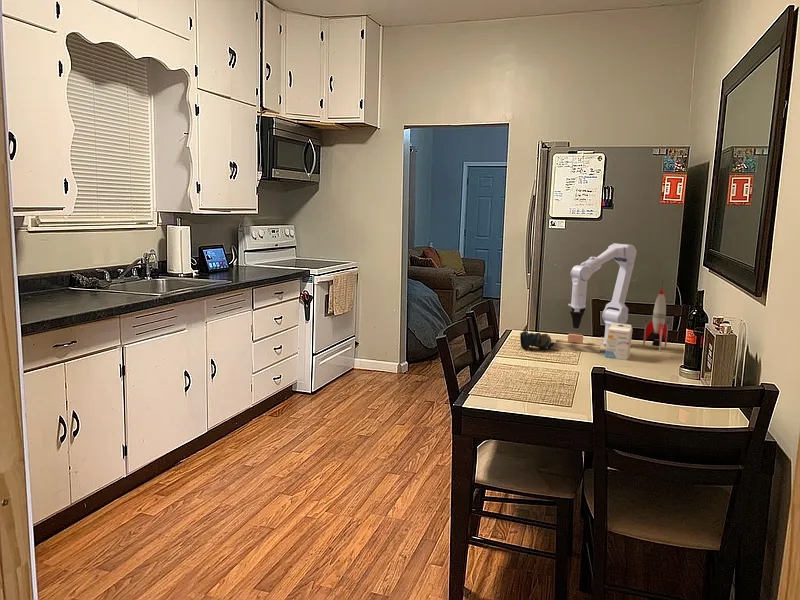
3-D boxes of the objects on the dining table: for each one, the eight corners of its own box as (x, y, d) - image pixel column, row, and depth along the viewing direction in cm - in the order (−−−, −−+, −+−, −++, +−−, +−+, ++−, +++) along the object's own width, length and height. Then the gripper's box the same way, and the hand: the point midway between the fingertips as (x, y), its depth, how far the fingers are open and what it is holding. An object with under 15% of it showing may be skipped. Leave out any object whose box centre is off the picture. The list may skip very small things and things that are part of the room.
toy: (665, 347, 266) (672, 279, 261) (671, 352, 258) (679, 281, 253) (642, 346, 267) (648, 278, 262) (648, 350, 258) (655, 280, 254)
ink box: (604, 357, 245) (607, 324, 243) (608, 352, 253) (610, 321, 250) (627, 360, 241) (630, 326, 239) (630, 355, 249) (633, 323, 247)
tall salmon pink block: (582, 347, 258) (583, 335, 257) (582, 348, 256) (583, 336, 255) (567, 346, 260) (568, 333, 259) (567, 347, 258) (568, 334, 257)
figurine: (516, 332, 260) (552, 329, 259) (518, 351, 259) (553, 348, 258) (518, 330, 251) (555, 327, 250) (520, 350, 250) (557, 348, 249)
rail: (599, 349, 258) (600, 343, 258) (599, 353, 251) (599, 347, 251) (551, 344, 264) (551, 338, 264) (549, 347, 258) (550, 342, 258)
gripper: (570, 291, 262) (568, 322, 265) (567, 296, 249) (565, 328, 251) (587, 292, 260) (585, 324, 262) (585, 297, 247) (583, 330, 249)
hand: (576, 326), depth 257 cm, fingers open, 7 cm apart
